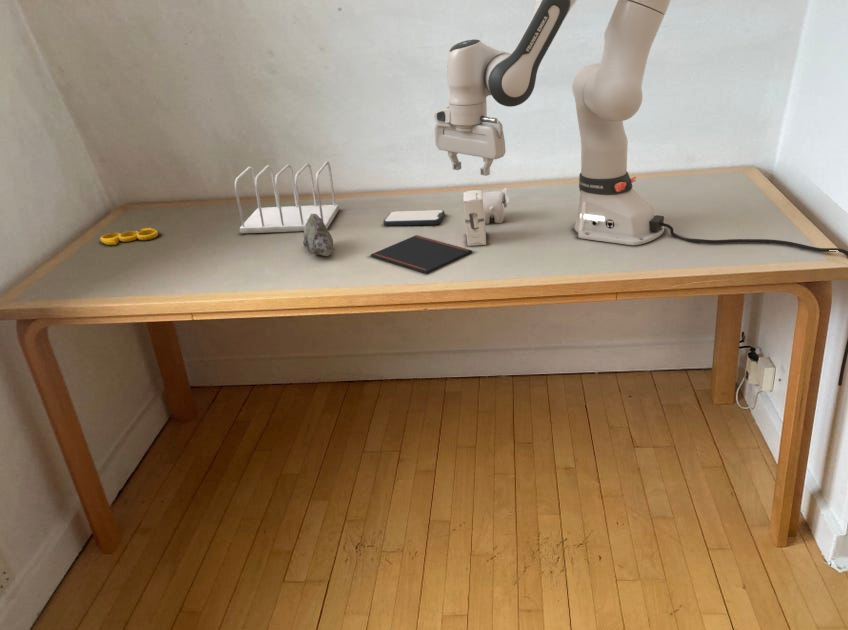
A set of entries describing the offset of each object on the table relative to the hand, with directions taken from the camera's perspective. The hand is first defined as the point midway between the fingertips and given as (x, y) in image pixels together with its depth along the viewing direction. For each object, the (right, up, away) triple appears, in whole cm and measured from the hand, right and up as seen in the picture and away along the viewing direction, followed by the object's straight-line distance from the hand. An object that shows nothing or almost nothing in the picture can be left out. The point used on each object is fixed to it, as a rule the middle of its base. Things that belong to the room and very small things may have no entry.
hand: (470, 172), depth 190 cm
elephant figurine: (+7, -8, +21) cm, 24 cm away
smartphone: (-14, -7, +26) cm, 31 cm away
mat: (-12, -20, +3) cm, 24 cm away
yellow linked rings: (-97, -11, +34) cm, 103 cm away
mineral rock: (-39, -19, +10) cm, 44 cm away
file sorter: (-50, -6, +34) cm, 61 cm away
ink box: (+2, -16, +9) cm, 18 cm away
